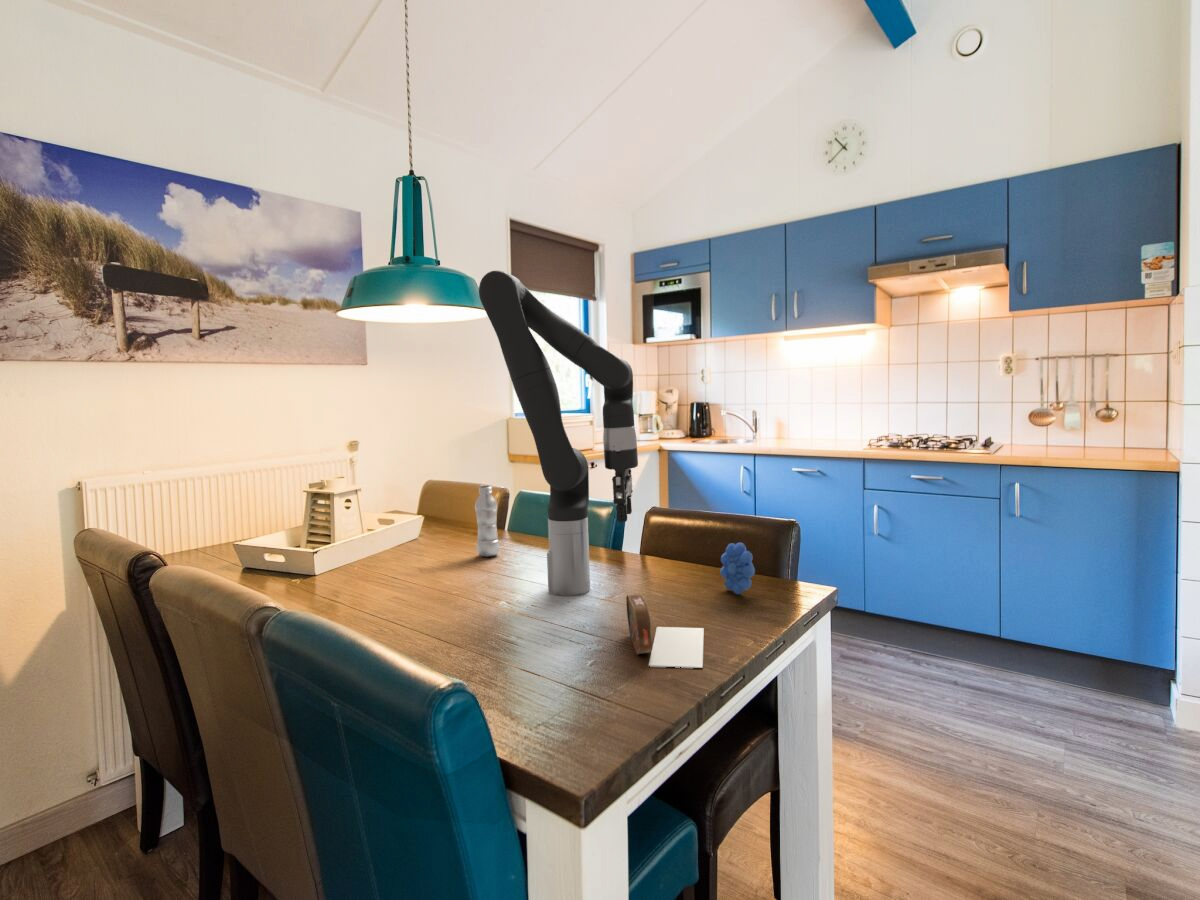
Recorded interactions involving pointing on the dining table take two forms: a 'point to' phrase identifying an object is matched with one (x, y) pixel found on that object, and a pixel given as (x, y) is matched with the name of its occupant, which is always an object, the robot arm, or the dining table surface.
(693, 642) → the mat
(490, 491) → the plastic bottle
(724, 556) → the grapes
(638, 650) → the tin
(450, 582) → the dining table surface
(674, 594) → the dining table surface
